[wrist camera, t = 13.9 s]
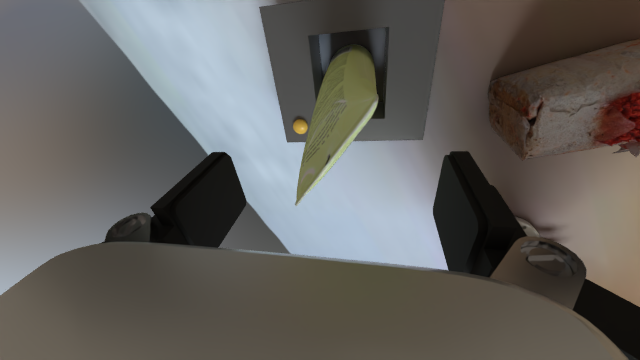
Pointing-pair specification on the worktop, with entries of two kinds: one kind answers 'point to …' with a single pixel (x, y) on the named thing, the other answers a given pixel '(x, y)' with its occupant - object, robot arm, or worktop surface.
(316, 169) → the tube
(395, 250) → the worktop surface
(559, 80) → the food item
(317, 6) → the port block
